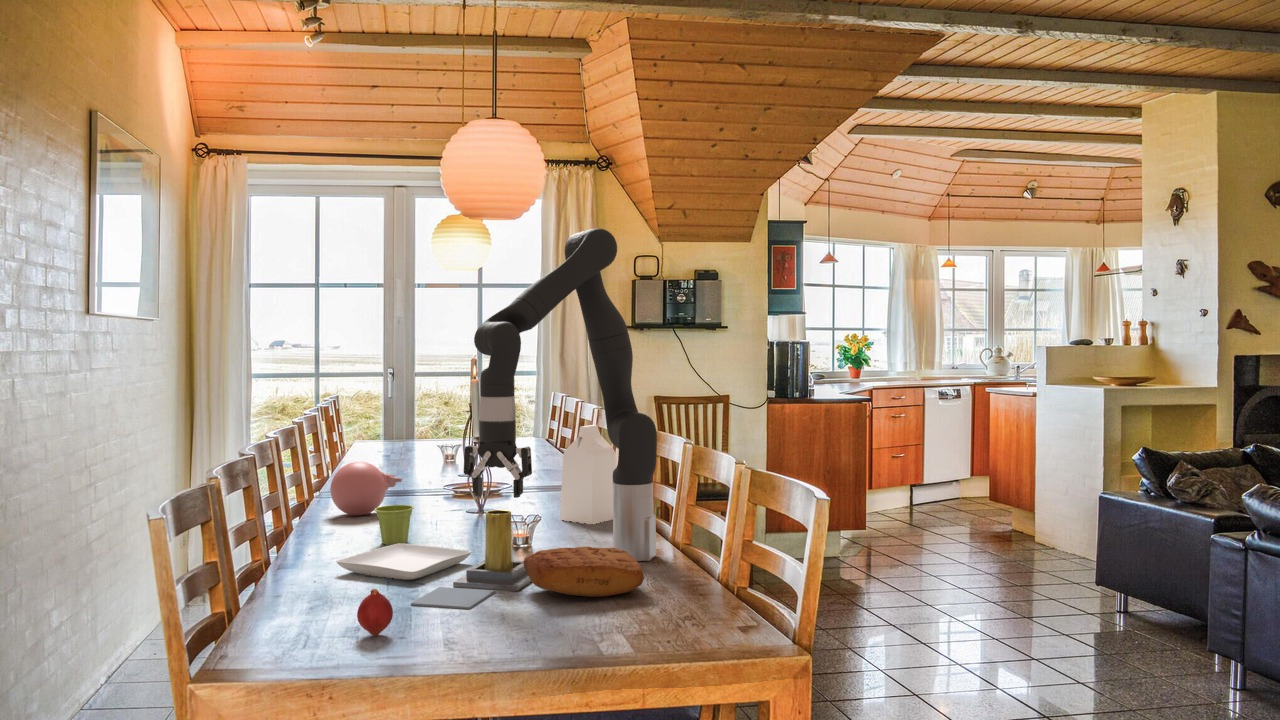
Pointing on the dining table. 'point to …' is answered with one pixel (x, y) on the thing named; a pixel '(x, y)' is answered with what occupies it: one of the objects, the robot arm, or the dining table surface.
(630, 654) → the dining table surface
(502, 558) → the vase
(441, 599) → the pad
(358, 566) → the salad plate
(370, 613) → the onion
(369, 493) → the pink balloon
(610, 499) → the milk
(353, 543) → the dining table surface
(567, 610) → the dining table surface
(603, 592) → the cuneiform tablet
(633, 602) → the dining table surface
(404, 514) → the plant pot
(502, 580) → the grey square socket base
